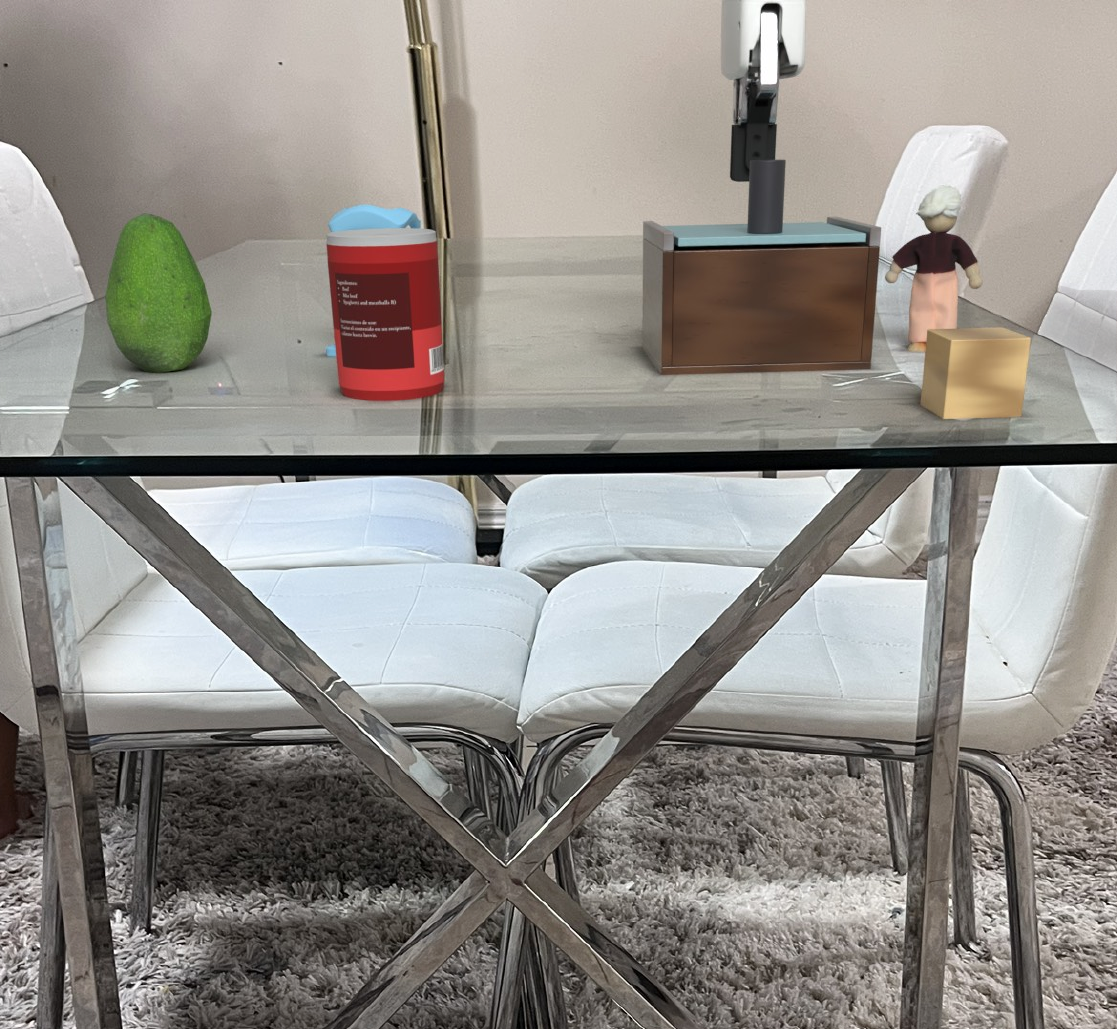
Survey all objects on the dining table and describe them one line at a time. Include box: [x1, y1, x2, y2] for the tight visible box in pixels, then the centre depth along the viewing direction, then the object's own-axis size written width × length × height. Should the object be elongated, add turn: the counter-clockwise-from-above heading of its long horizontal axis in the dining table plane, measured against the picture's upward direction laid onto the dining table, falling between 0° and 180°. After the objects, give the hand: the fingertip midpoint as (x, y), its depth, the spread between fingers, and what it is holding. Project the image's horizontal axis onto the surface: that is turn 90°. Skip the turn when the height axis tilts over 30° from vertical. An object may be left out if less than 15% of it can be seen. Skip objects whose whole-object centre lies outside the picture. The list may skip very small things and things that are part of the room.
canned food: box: [325, 227, 445, 402], centre depth 94 cm, size 8×8×11 cm
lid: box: [661, 159, 866, 247], centre depth 103 cm, size 14×14×6 cm
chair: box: [325, 204, 422, 357], centre depth 113 cm, size 8×8×12 cm
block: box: [920, 326, 1032, 420], centre depth 85 cm, size 5×5×5 cm
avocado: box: [104, 212, 213, 374], centre depth 105 cm, size 8×8×12 cm
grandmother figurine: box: [884, 184, 983, 353], centre depth 107 cm, size 8×4×13 cm, turn 72°
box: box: [641, 216, 882, 376], centre depth 106 cm, size 16×14×10 cm
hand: (751, 180), depth 104 cm, fingers closed
